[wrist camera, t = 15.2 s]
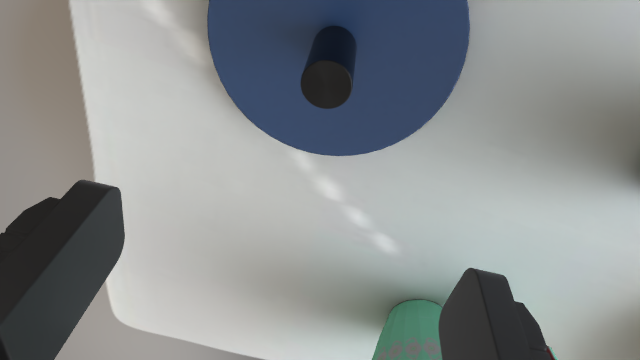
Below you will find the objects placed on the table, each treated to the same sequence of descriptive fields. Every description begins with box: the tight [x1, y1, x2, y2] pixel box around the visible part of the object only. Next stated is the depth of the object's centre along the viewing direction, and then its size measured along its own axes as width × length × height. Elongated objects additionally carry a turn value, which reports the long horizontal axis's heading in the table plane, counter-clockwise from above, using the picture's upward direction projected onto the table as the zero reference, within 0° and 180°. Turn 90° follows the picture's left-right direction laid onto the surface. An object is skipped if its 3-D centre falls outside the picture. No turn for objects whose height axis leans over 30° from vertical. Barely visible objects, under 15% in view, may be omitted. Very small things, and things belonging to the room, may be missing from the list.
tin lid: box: [208, 0, 470, 156], centre depth 21 cm, size 14×14×6 cm
